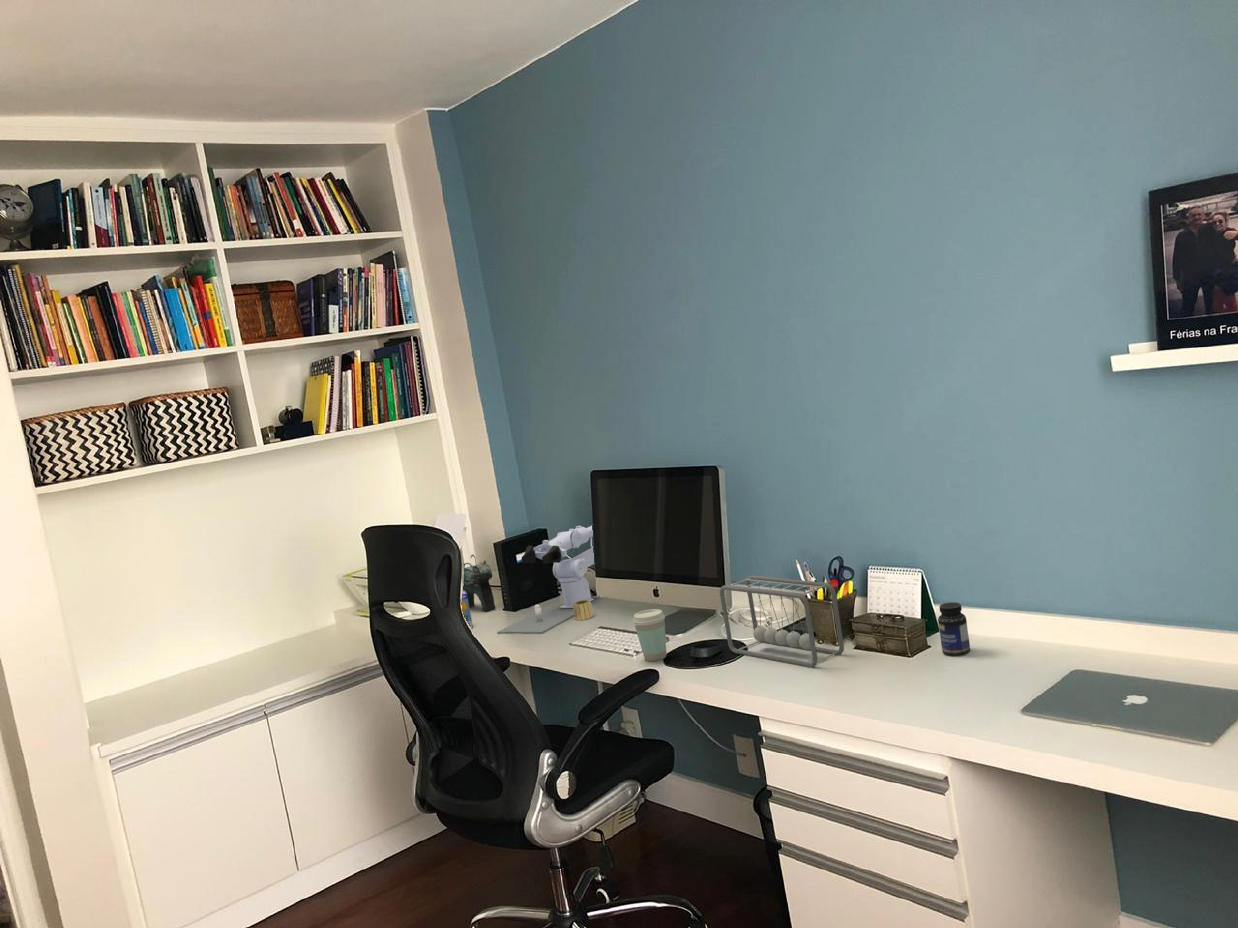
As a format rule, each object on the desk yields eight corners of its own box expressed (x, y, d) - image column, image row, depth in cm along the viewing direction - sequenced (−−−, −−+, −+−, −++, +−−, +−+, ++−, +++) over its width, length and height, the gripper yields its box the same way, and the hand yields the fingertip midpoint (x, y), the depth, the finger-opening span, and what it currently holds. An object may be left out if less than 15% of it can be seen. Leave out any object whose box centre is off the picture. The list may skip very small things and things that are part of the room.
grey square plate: (538, 612, 334) (534, 595, 333) (581, 611, 324) (578, 594, 323) (497, 633, 315) (493, 615, 315) (542, 633, 306) (538, 614, 305)
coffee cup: (676, 651, 263) (668, 607, 262) (664, 662, 255) (656, 617, 254) (647, 652, 266) (639, 609, 265) (634, 663, 259) (626, 618, 258)
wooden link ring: (582, 614, 320) (579, 599, 320) (596, 614, 317) (593, 599, 317) (572, 620, 315) (569, 604, 315) (586, 620, 312) (584, 604, 312)
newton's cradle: (846, 655, 236) (835, 582, 234) (816, 669, 230) (804, 595, 228) (757, 640, 260) (746, 574, 259) (728, 652, 254) (717, 585, 253)
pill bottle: (937, 654, 225) (930, 607, 224) (951, 646, 229) (945, 600, 228) (961, 658, 220) (954, 610, 219) (976, 649, 224) (969, 602, 223)
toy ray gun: (500, 609, 349) (490, 553, 347) (484, 614, 346) (473, 558, 344) (474, 603, 365) (463, 550, 363) (458, 608, 362) (448, 555, 360)
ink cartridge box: (444, 635, 325) (436, 592, 324) (442, 631, 331) (434, 589, 329) (474, 628, 328) (466, 585, 327) (471, 624, 333) (463, 582, 332)
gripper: (534, 536, 330) (511, 548, 319) (571, 536, 323) (550, 548, 312) (537, 556, 332) (515, 569, 320) (575, 556, 325) (553, 570, 313)
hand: (532, 560), depth 316 cm, fingers open, 7 cm apart
